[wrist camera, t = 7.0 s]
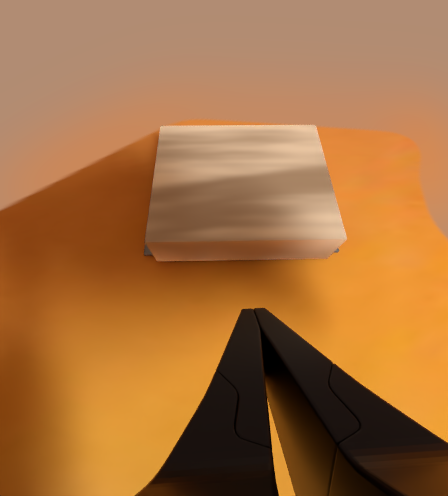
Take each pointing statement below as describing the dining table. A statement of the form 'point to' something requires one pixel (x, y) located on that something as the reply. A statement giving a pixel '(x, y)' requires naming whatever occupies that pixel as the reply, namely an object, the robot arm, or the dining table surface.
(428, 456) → the robot arm
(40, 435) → the dining table surface
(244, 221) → the beige streaked flat block
